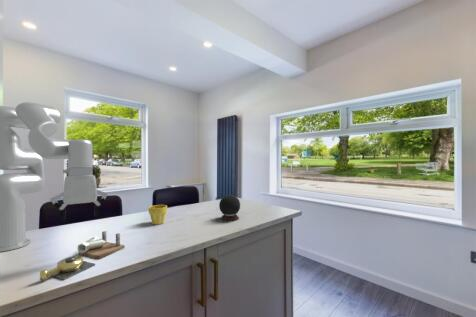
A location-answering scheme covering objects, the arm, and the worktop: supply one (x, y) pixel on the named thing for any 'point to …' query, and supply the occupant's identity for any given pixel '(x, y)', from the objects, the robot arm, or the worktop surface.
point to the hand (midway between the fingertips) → (80, 217)
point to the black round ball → (229, 208)
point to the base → (69, 274)
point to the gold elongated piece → (63, 267)
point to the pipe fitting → (91, 244)
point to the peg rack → (104, 248)
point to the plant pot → (158, 214)
